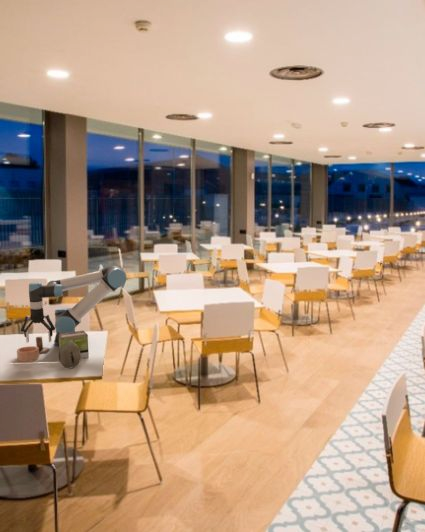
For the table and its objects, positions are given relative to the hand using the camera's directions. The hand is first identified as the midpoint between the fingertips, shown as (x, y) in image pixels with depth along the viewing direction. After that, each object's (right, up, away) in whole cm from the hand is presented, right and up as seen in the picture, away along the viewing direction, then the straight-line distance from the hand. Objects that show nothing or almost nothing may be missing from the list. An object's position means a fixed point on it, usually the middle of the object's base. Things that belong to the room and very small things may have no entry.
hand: (38, 341), depth 335 cm
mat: (0, -6, +1) cm, 7 cm away
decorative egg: (+27, -11, -29) cm, 41 cm away
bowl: (-2, -9, -12) cm, 15 cm away
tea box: (+25, -8, -11) cm, 28 cm away
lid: (0, -6, +1) cm, 6 cm away
